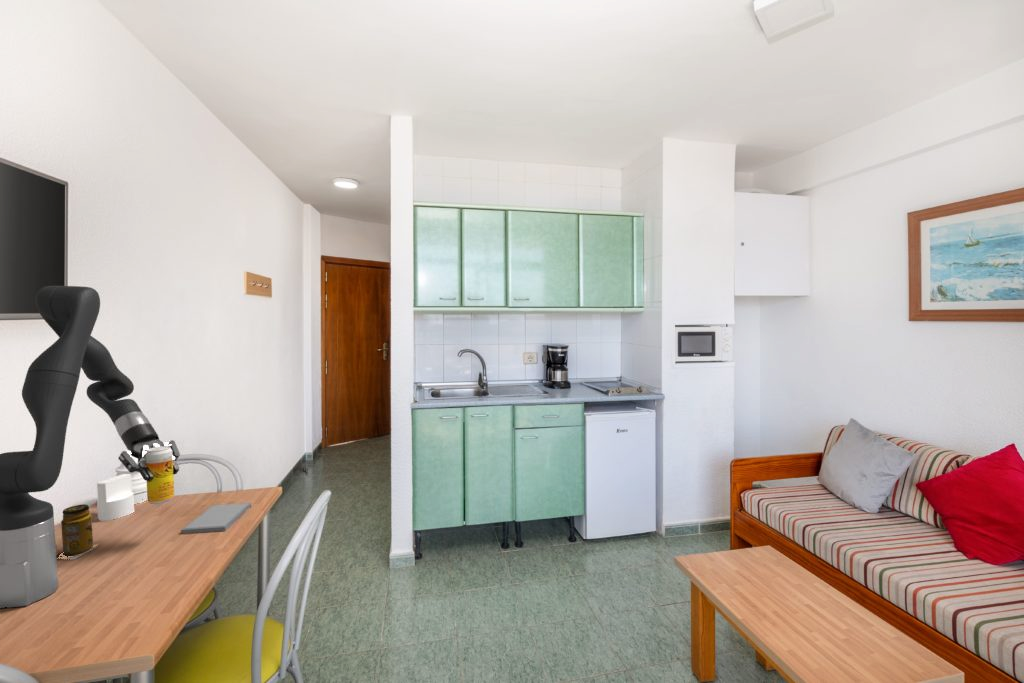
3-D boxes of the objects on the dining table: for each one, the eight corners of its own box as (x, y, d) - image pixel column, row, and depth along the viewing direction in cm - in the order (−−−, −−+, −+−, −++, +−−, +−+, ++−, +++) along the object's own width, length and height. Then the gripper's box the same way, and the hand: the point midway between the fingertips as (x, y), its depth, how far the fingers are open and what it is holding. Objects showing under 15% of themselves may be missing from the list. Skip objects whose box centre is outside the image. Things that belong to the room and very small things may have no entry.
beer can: (163, 504, 129) (161, 451, 128) (141, 505, 129) (139, 451, 128) (179, 496, 135) (177, 445, 134) (158, 496, 135) (156, 445, 134)
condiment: (102, 544, 130) (99, 502, 130) (74, 559, 122) (71, 515, 121) (75, 545, 130) (72, 503, 130) (46, 560, 122) (43, 516, 121)
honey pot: (144, 504, 158) (141, 452, 157) (102, 507, 156) (98, 455, 155) (166, 491, 171) (163, 442, 170) (127, 493, 169) (124, 444, 168)
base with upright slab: (117, 508, 155) (115, 473, 154) (141, 509, 154) (139, 474, 153) (90, 520, 146) (87, 483, 146) (115, 521, 145) (112, 484, 144)
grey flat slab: (225, 530, 137) (225, 526, 137) (181, 533, 136) (181, 529, 136) (251, 506, 155) (251, 502, 155) (212, 508, 154) (212, 505, 154)
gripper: (112, 428, 127) (140, 475, 123) (168, 417, 140) (195, 460, 136) (101, 445, 129) (129, 493, 125) (157, 433, 143) (184, 476, 139)
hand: (163, 475), depth 131 cm, fingers closed on beer can, 6 cm apart
